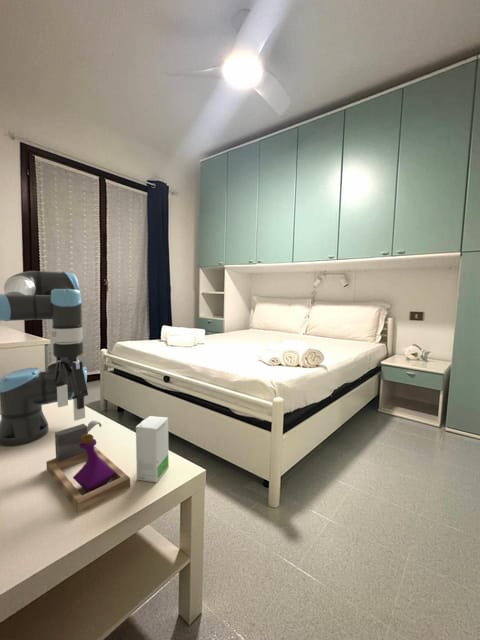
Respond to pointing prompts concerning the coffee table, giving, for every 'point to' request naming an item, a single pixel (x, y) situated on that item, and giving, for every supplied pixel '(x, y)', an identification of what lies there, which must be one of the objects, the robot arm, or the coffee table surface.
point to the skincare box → (152, 448)
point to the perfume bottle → (92, 464)
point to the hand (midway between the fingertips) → (70, 412)
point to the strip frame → (73, 454)
